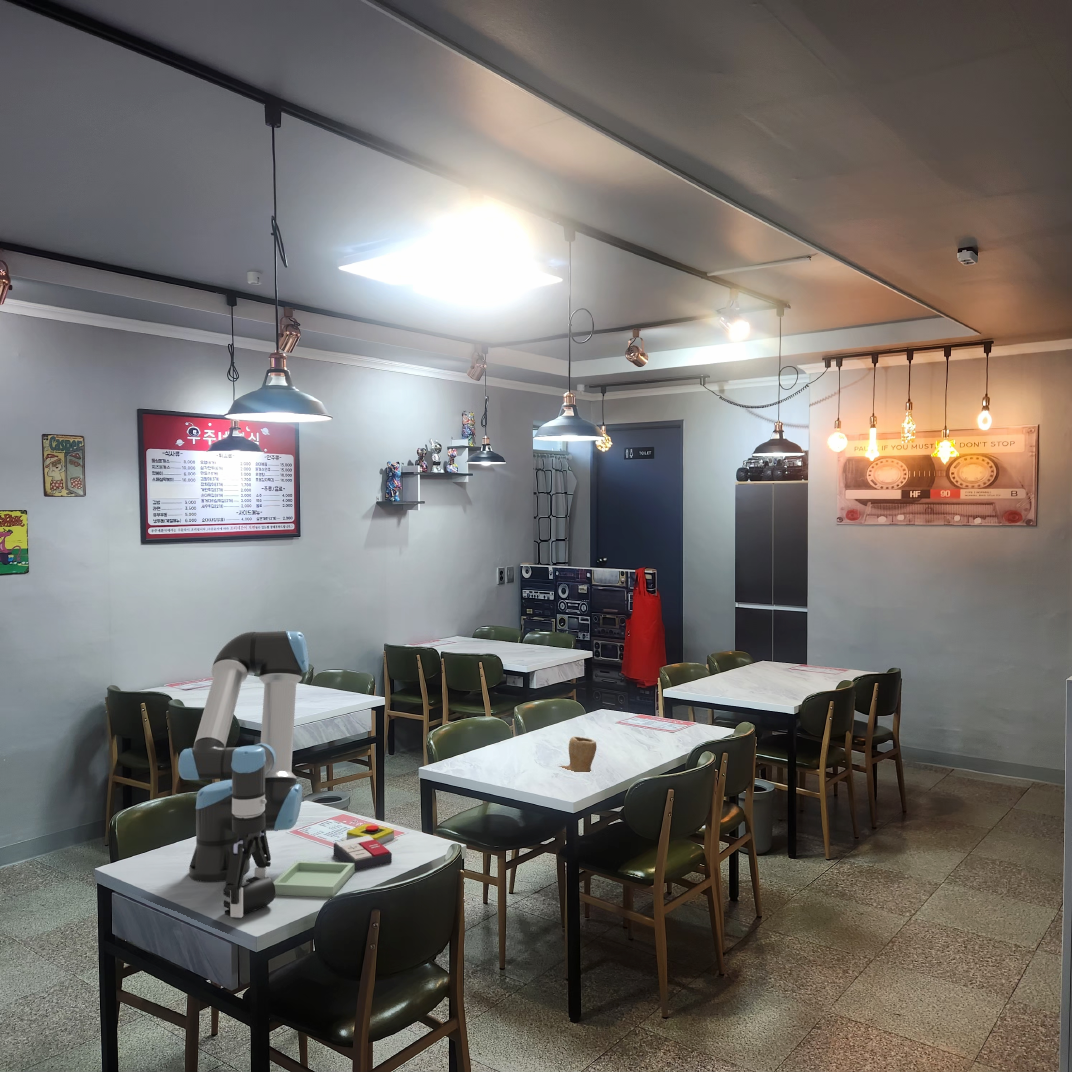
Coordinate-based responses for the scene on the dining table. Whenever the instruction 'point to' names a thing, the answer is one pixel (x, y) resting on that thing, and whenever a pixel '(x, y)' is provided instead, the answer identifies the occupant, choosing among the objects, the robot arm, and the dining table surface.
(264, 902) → the end cap
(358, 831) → the emergency button
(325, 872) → the sage tray
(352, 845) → the button switch box
